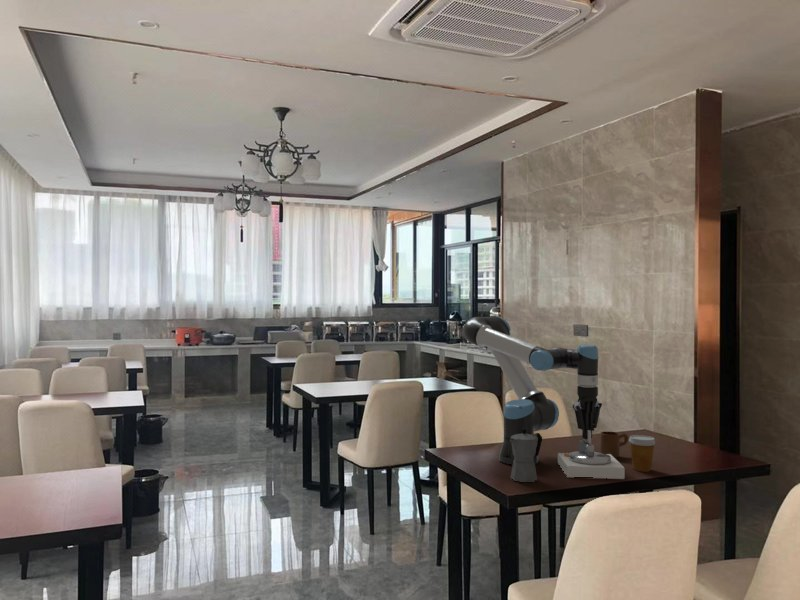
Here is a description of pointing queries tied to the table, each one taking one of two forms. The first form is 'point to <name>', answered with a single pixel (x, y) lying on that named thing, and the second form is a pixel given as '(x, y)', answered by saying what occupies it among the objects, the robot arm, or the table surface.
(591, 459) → the dial
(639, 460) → the disposable coffee cup
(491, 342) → the robot arm
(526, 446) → the coffeepot
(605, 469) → the dial housing
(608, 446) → the mug
